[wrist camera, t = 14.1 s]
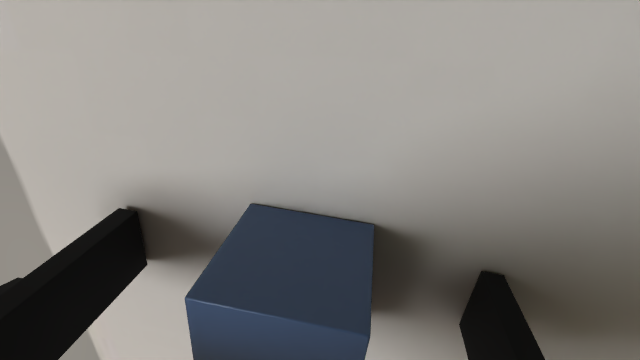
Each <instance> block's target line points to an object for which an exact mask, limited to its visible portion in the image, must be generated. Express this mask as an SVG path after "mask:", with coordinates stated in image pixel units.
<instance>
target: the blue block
mask: <svg viewBox="0 0 640 360" xmlns="http://www.w3.org/2000/svg"><path fill="white" fill-rule="evenodd" d="M373 246H374V225H373V224H367V223H361V222H355V221H349V220H344V219H338V218H332V217H326V216H320V215H314V214H308V213H303V212H297V211H291V210H285V209H279V208H273V207H267V206H261V205H256V204H250V205H249V207H248V208H247V210H246V211H245V212H244V214H243V215H242V217H241V218H240V220H239V221H238V222H237V224H236V225H235V227H234V228H233V230H232V231H231V232H230V234H229V235H228V237H227V238H226V240H225V241H224V242H223V244H222V245H221V247H220V248H219V250H218V251H217V252H216V254H215V255H214V257H213V258H212V260H211V261H210V262H209V264H208V265H207V267H206V268H205V270H204V271H203V272H202V274H201V275H200V277H199V278H198V280H197V281H196V282H195V284H194V285H193V287H192V288H191V290H190V291H189V292H188V294H187V295H186V297H185V303H186V310H187V317H188V324H189V331H190V338H191V345H192V352H193V359H194V360H365V356H366V352H367V348H368V344H369V340H370V332H371V303H372V274H373Z"/></svg>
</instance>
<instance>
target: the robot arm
mask: <svg viewBox="0 0 640 360" xmlns="http://www.w3.org/2000/svg"><path fill="white" fill-rule="evenodd" d="M146 266H147V260H146V255H145V250H144V245H143V240H142V235H141V230H140V225H139V220H138V215H137V211H132V210H127V209H121V208H119V209H117V210H116V211H114V212H113V213H112V214H110V215H109V216H108V217H106V218H105V219H103V220H102V221H101V222H99V223H98V224H97V225H95V226H94V227H93V228H91V229H90V230H88V231H87V232H86V233H84V234H83V235H82V236H80V237H79V238H77V239H76V240H75V241H73V242H72V243H71V244H69V245H68V246H67V247H65V248H64V249H62V250H61V251H60V252H58V253H57V254H56V255H54V256H53V257H51V258H50V259H49V260H48V261H46V262H45V263H43V264H42V265H41V266H39V267H38V268H37V269H35V270H34V271H32V272H31V273H30V274H28V275H27V276H25V277H24V278H16V279H14V280H12V281H10V282H8V283H6V284H3V285H1V286H0V360H58V359H59V358H60V357H61V356H62V355H63V354H64V353H65V352H66V351H67V350H68V349H69V348H70V347H71V345H72V344H73V343H74V342H75V341H76V340H77V339H78V338H79V337H80V336H81V335H82V334H83V333H84V331H86V329H87V328H88V327H89V326H90V325H91V324H92V323H93V322H94V321H95V320H96V319H97V318H98V317H99V316H100V315H101V314H102V312H103V311H104V310H105V309H106V308H107V307H108V306H109V305H110V304H111V303H112V302H113V301H114V300H115V299H116V298H117V296H118V295H119V294H120V293H121V292H122V291H123V290H124V289H125V288H126V287H127V286H128V285H129V284H130V283H131V282H132V280H133V279H134V278H135V277H136V276H137V275H138V274H139V273H140V272H141V271H142V270H143V269H144V268H145V267H146ZM459 325H460V329H461V333H462V337H463V340H464V344H465V348H466V352H467V356H468V359H469V360H545V358H544V356H543V354H542V352H541V350H540V348H539V346H538V344H537V342H536V340H535V338H534V336H533V334H532V332H531V330H530V328H529V326H528V324H527V322H526V319H525V317H524V315H523V313H522V311H521V309H520V307H519V305H518V303H517V301H516V299H515V297H514V295H513V293H512V291H511V289H510V287H509V285H508V283H507V281H506V279H505V277H504V275H499V274H494V273H488V272H482V271H481V274H480V276H479V278H478V281H477V283H476V285H475V288H474V290H473V293H472V295H471V297H470V300H469V302H468V305H467V307H466V309H465V312H464V314H463V316H462V319H461V321H460V324H459Z"/></svg>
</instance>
